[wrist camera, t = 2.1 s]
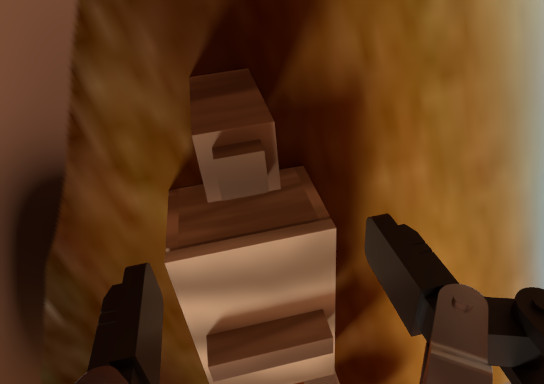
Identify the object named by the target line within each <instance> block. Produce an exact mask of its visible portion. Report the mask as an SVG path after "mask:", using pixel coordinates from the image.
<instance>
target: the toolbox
mask: <svg viewBox="0 0 544 384" xmlns="http://www.w3.org/2000/svg"><path fill="white" fill-rule="evenodd" d="M279 175H280V185H281V189H278V190H273V191H269V192H267V193H262V194H257V195H251V196H246V197H241V198H235V199H230V200H225V201H222V200H220V201H215V202H209V203H208V201H207V197H206V192H205V188H204V184H200V185H195V186H190V187H184V188H179V189H173V190H169V197H168V215H167V232H166V251H167V252H168V251H173V250H178V249H183V248H188V247H193V246H198V245H203V244H208V243H213V242H218V241H223V240H228V239H232V238H237V237H242V236H247V235H252V234H257V233H262V232H267V231H272V230H277V229H282V228H287V227H292V226H297V225H302V224H307V223H312V222H317V221H322V220H327V219H330V215H329V213H328V211H327V210H326V208H325V206H324V204H323V202H322V200H321V198H320V196H319V194H318V192H317V191H316V189H315V187H314V185H313V183H312V181H311V179H310V177H309V175H308V173H307V171H306V170H305V168H304V166H298V167H293V168H287V169H282V170H279Z"/></svg>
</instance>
